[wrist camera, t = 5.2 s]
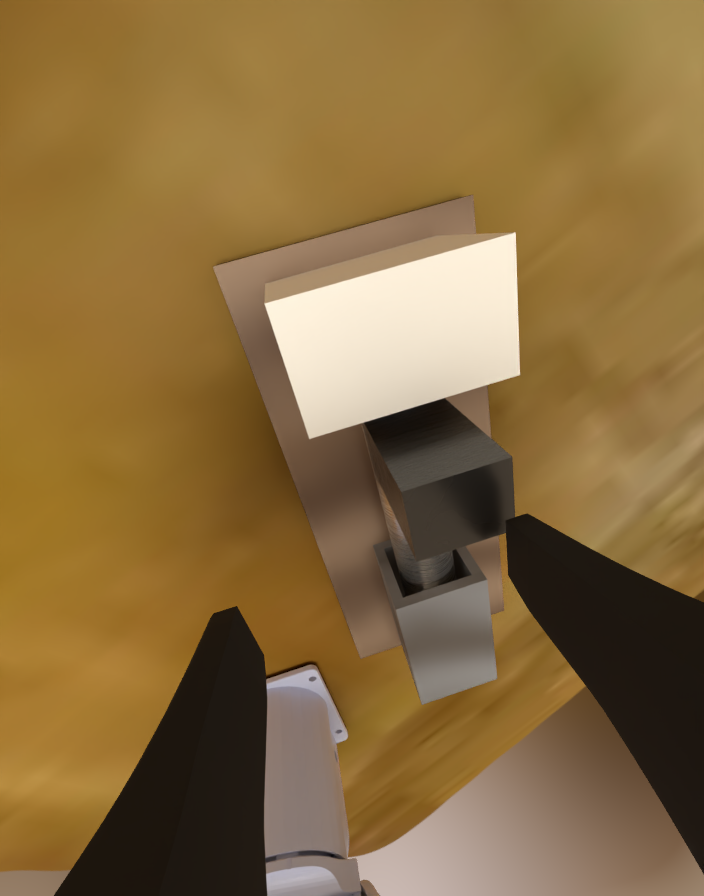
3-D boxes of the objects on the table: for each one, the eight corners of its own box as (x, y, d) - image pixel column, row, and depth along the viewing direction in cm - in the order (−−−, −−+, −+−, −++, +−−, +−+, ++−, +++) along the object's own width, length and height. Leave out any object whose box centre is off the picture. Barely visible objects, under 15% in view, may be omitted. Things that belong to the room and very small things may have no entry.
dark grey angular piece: (446, 559, 22) (523, 696, 16) (395, 576, 22) (451, 721, 16) (403, 306, 16) (507, 354, 9) (330, 327, 15) (379, 392, 9)
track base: (496, 598, 27) (544, 672, 23) (357, 645, 27) (376, 730, 22) (461, 197, 16) (544, 178, 11) (216, 265, 15) (193, 275, 11)
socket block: (448, 337, 17) (519, 374, 12) (296, 382, 17) (309, 439, 12) (436, 235, 15) (515, 232, 10) (265, 283, 15) (264, 303, 10)
